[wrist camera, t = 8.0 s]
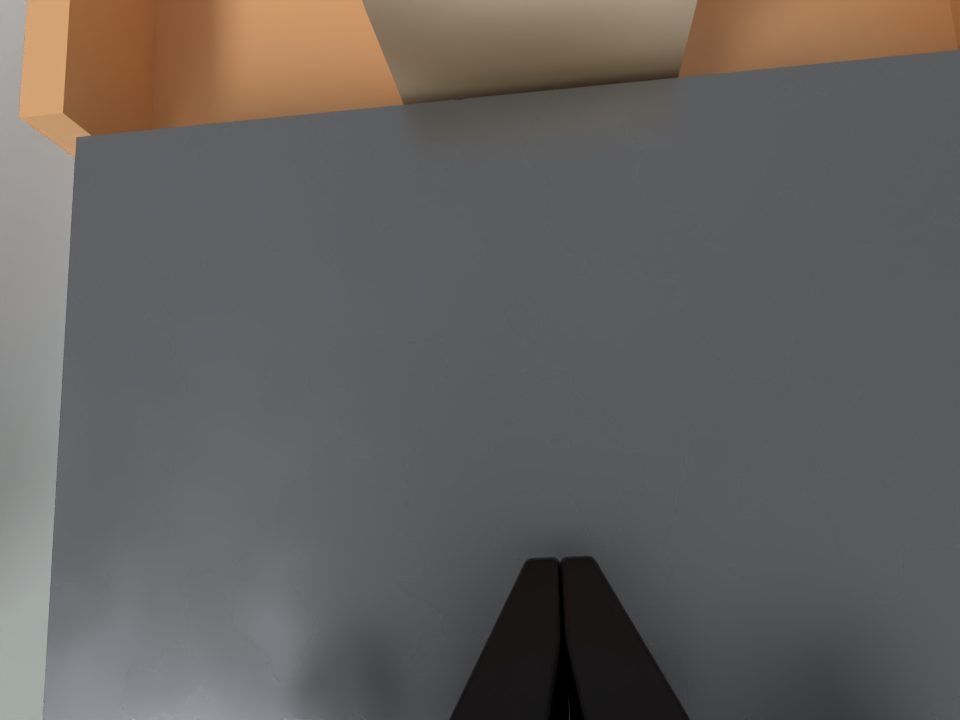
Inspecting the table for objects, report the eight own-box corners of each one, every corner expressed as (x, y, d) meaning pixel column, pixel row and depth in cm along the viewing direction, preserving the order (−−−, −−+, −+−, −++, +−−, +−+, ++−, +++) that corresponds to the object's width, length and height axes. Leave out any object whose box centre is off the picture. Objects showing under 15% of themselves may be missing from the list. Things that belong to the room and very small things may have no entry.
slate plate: (1135, 1109, 15) (1305, 1287, 11) (126, 1083, 17) (13, 1228, 13) (962, 126, 19) (1050, 40, 15) (157, 198, 21) (76, 137, 17)
